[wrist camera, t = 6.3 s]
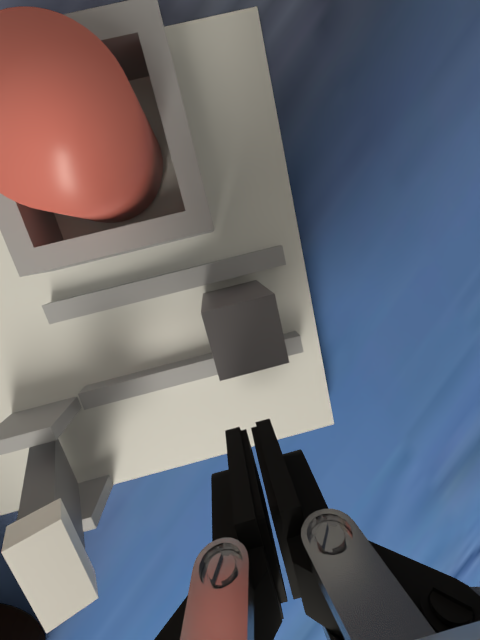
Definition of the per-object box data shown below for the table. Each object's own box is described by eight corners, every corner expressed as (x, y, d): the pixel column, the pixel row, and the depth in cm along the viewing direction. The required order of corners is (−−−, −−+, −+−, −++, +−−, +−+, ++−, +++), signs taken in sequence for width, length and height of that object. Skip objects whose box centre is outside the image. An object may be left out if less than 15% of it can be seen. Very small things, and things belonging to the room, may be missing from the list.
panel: (251, 32, 13) (269, -57, 9) (323, 409, 18) (356, 455, 14) (-190, 131, 12) (-371, 79, 9) (2, 496, 17) (-59, 571, 13)
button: (142, 84, 12) (102, -12, 7) (176, 208, 13) (160, 189, 8) (23, 111, 11) (-92, 29, 7) (68, 234, 12) (-7, 229, 8)
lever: (59, 424, 14) (60, 519, 9) (82, 478, 15) (98, 597, 9) (24, 440, 14) (0, 552, 8) (50, 495, 14) (46, 634, 9)
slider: (256, 280, 14) (274, 294, 10) (267, 330, 14) (289, 363, 11) (202, 293, 14) (200, 312, 10) (216, 344, 14) (219, 380, 10)
